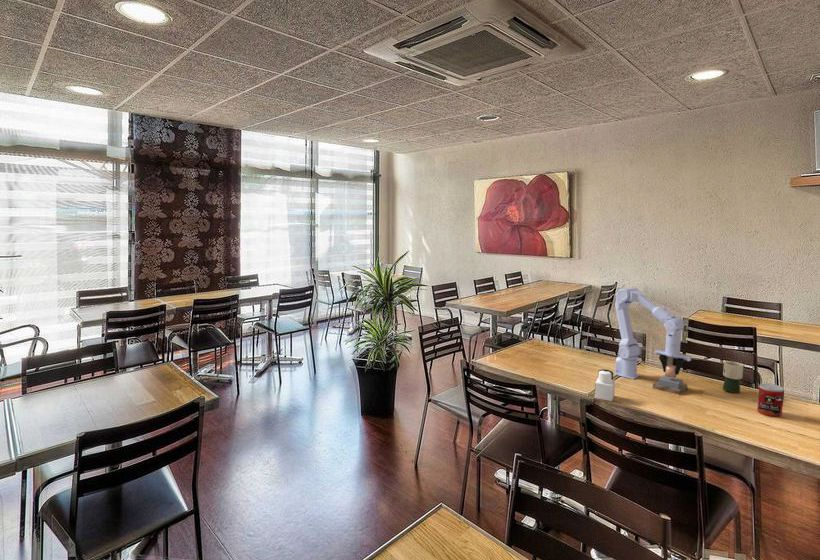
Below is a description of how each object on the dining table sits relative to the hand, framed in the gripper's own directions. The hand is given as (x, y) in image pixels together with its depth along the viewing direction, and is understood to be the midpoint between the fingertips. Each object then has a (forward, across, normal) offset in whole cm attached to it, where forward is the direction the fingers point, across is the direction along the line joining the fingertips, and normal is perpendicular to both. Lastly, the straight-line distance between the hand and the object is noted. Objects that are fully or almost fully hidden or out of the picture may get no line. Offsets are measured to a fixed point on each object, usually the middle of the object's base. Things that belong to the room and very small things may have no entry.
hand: (671, 372), depth 201 cm
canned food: (+8, +36, -1) cm, 37 cm away
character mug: (+8, +20, +16) cm, 27 cm away
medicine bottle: (+8, -16, -32) cm, 37 cm away
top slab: (+6, 0, 0) cm, 6 cm away
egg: (+1, 0, 0) cm, 1 cm away
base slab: (+8, 0, 0) cm, 8 cm away
